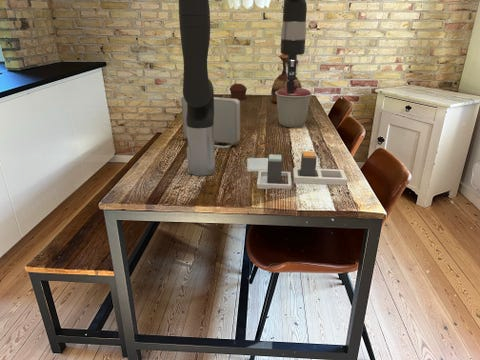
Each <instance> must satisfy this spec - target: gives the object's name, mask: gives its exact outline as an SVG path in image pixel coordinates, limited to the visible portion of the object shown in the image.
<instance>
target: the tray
mask: <svg viewBox="0 0 480 360" xmlns="http://www.w3.org/2000/svg"><path fill="white" fill-rule="evenodd" d="M267 172H268V171H259V172H257V173H258V174H257V180H256V181H257V182H256V189H259V190H260V189H261V190H262V189H263V190H271V189H284V190H291V189H292V175H291V174H292V173H291V172H292V171H282V172H281V177H282V176H283V177H287V183H281V184H272V183H267Z"/></svg>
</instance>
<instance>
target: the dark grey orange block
mask: <svg viewBox="0 0 480 360" xmlns="http://www.w3.org/2000/svg"><path fill="white" fill-rule="evenodd" d="M300 159H301V161H300V168H301V169H300V176H309V177H315V170H316V169H317V155H316V151H312V150H311V151H309V150H308V151H307V150H305V151H304V150H303V151H302V153H301V158H300Z"/></svg>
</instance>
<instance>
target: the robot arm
mask: <svg viewBox="0 0 480 360" xmlns="http://www.w3.org/2000/svg"><path fill="white" fill-rule="evenodd" d="M307 6H308V5H307V1H306V0H283V7H282V9H283V10H282V25H281V33H280V35H281V36H280V50H279V51H280V54H281V55H282V54H284V55H288V57H287V58H288V60H286V64H285V65H286V75H287V93H288V94H293V93H294V84H295V80H296V77H297V75H298V67H299V59H297V60H296V56H297V57H298V55H299V56H300V55H304V54H305V50H306V49H305V48H306V38H307V36H306V35H307V12H308V11H307V9H308V7H307ZM178 20H179V31H180V32H179V33H180V34H179V35H180V44H181V51H182V52H181V53H182V59H183V79H182V97H184V99H185V101H186V102H187V117H186V123H187V137H188V138H187V137H186V138H187V147H186V160H187V172H188V174H192V176H193V175H194V176H199V177H200V176H208V175H212V174H214V173H215V172H216V151H215V148H216V147H214V145H215V144H214V97H215V91H214V85H213V83H212V81H211V80H210V79H209V74H208V73H209V71H208V56H209V49H210V39H211V12H210V3H209V0H178Z"/></svg>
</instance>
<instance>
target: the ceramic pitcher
mask: <svg viewBox="0 0 480 360" xmlns="http://www.w3.org/2000/svg"><path fill="white" fill-rule="evenodd" d="M278 57H279V59H280V60H281V61H282V72H281V74H279V75H278V76H277V77H276V78H275V80H274V81H273V83H272V86H271V92H270V93H271V99H272V100H273V101H274V102H276V103H277V95H276V94H275V92H276V91H278V90H279V89H282V88H287V75H286V65H285V64H286V60H288V58H287V57H288V55H284V54H281V55H279V56H278ZM296 60H298V55H297V56H296ZM295 83H296V84H297V85H298V87H297V88H303V87H302V84H301V82H300V80H299V79H298V76H296V80H295Z"/></svg>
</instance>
